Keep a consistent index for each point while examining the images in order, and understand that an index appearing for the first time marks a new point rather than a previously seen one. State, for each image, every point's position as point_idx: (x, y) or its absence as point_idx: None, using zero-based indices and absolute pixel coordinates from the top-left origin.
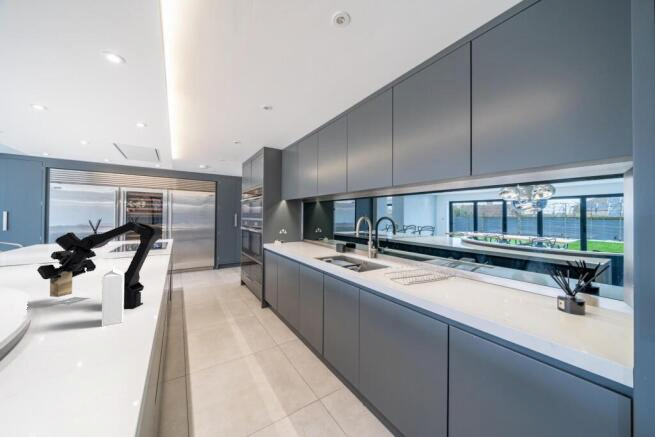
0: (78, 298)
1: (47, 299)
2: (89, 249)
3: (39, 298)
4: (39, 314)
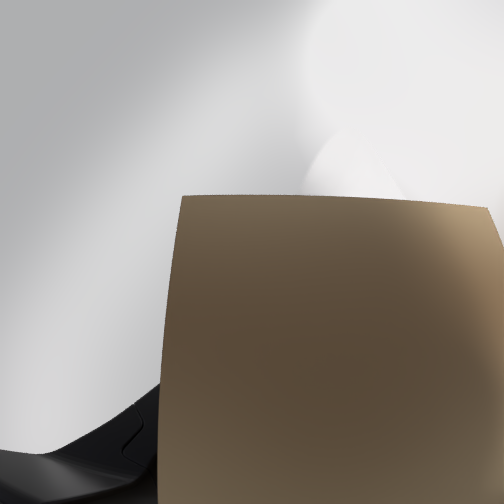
0: None
1: (331, 192)
2: None
3: (324, 150)
4: None
